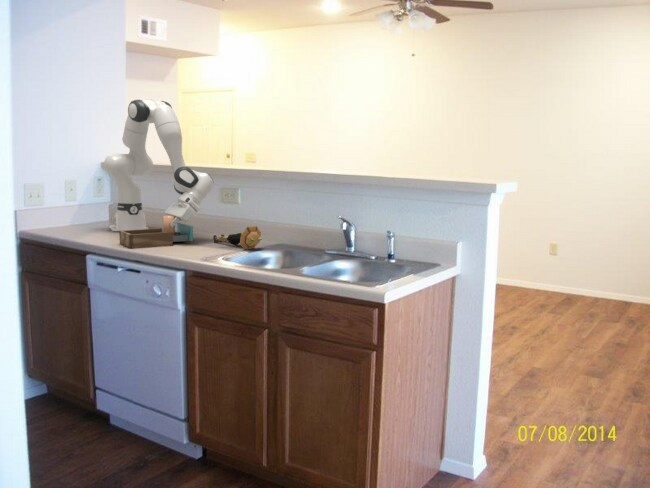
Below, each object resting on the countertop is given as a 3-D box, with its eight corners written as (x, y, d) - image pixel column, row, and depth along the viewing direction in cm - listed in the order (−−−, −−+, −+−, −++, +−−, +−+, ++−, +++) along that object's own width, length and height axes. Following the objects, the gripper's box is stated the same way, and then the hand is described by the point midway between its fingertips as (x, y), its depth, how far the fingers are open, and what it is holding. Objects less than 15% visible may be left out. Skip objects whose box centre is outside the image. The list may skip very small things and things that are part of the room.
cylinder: (161, 235, 285) (161, 215, 283) (172, 234, 288) (172, 215, 286) (166, 236, 281) (165, 216, 279) (176, 235, 284) (176, 216, 282)
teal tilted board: (140, 239, 284) (139, 224, 283) (179, 236, 295) (179, 222, 294) (152, 244, 272) (151, 228, 271) (193, 241, 283) (192, 226, 282)
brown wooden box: (119, 244, 278) (119, 230, 277) (161, 241, 289) (160, 228, 288) (130, 248, 267) (129, 234, 266) (172, 245, 278) (172, 232, 277)
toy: (233, 227, 297) (272, 224, 276) (235, 248, 298) (274, 247, 276) (201, 230, 285) (239, 227, 264) (203, 252, 286) (241, 251, 264)
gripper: (174, 196, 294) (154, 217, 290) (192, 200, 277) (171, 223, 273) (183, 205, 297) (163, 226, 293) (201, 209, 281) (181, 232, 277)
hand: (167, 225), depth 283 cm, fingers closed on cylinder, 5 cm apart
